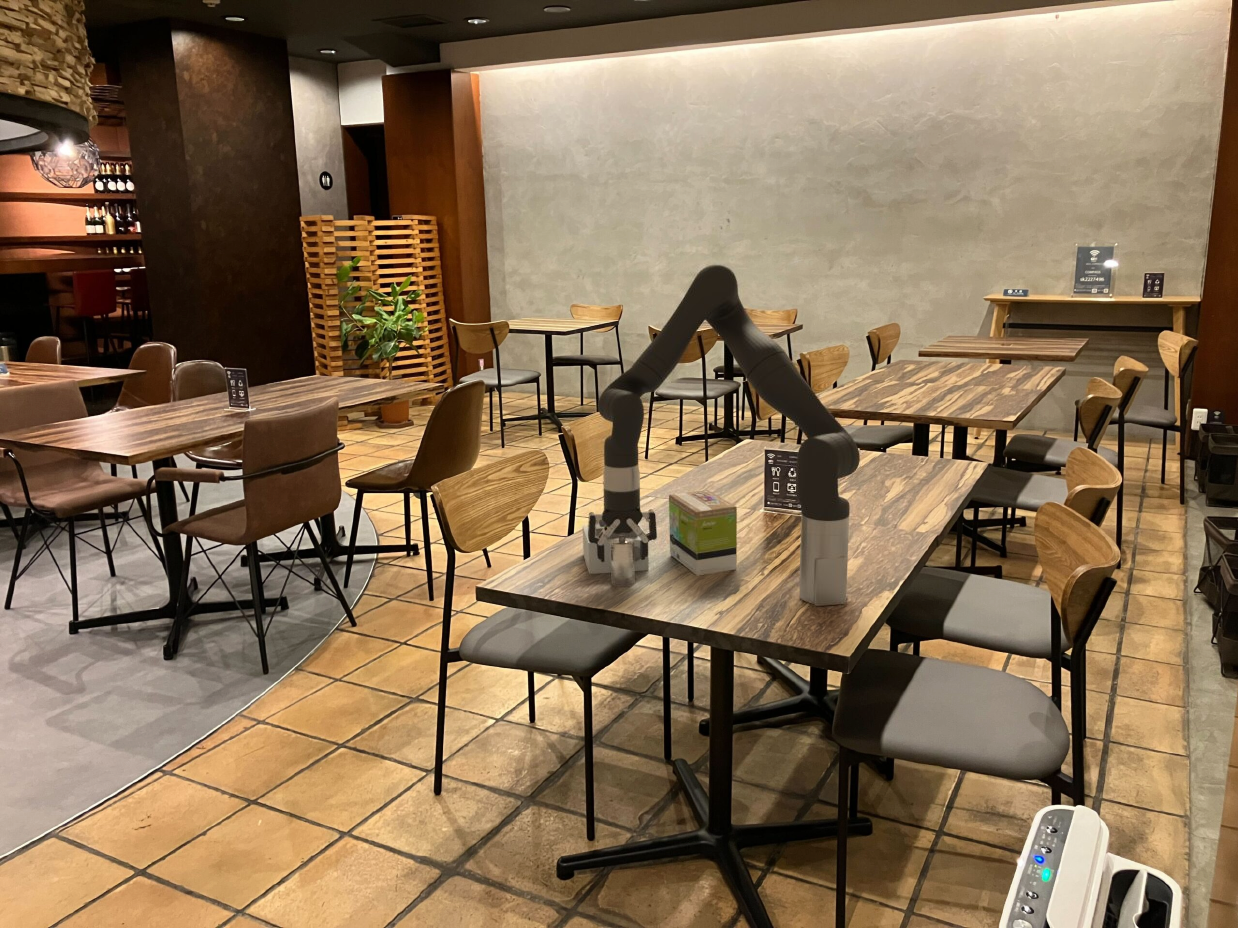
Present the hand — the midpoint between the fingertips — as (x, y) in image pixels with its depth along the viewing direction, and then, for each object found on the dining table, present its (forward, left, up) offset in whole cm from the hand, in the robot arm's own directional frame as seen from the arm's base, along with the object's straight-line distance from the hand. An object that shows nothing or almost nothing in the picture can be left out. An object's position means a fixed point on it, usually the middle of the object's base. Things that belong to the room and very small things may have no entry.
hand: (622, 559), depth 204 cm
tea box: (+8, -19, -5) cm, 21 cm away
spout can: (-1, 0, -5) cm, 5 cm away
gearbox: (+12, 0, -5) cm, 13 cm away
